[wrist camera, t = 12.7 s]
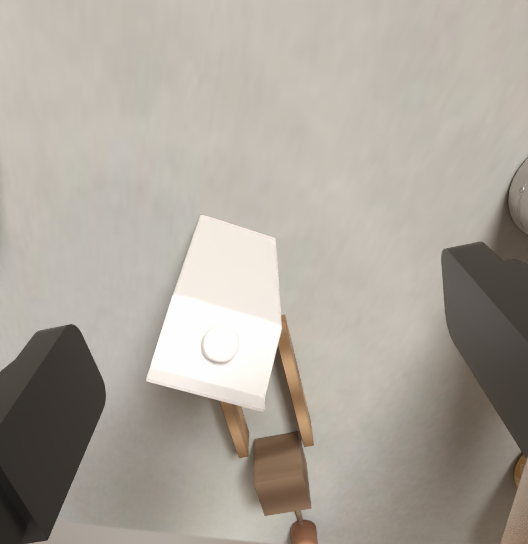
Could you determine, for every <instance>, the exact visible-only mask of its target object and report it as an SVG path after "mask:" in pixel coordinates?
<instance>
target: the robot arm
mask: <svg viewBox="0 0 528 544" xmlns="http://www.w3.org/2000/svg"><path fill="white" fill-rule="evenodd" d="M508 204H509V212H510V214H511V217H512V219H513V221H514V222H515V224H516V225H517V226H518V228H519V229H521V230H522V231H523V232H525V233H526V234H527V235H528V158H527V159H526V160H525V162H524V163H523V164H522V165H521V167H520V168H519V169H518V171H517V173H516V175H515V177H514V178H513V181H512V184H511V187H510V190H509V198H508ZM441 263H442V276H443V290H444V303H445V315H446V321H447V326H448V329H449V333H450V335H451V338H452V340H453V342H454V344H455V346H456V347H457V349H458V350H459V352H460V354H461V355H462V357H463V358H464V360H465V362H466V363H467V365H468V366H469V368H470V370H471V371H472V373H473V374H474V376H475V378H476V379H477V381H478V382H479V384H480V386H481V387H482V389H483V390H484V392H485V394H486V395H487V397H488V398H489V400H490V402H491V403H492V405H493V406H494V408H495V410H496V411H497V413H498V414H499V416H500V418H501V419H502V421H503V422H504V424H505V426H506V427H507V429H508V430H509V432H510V434H511V435H512V437H513V438H514V440H515V442H516V443H517V445H518V446H519V448H520V450H521V451H522V453H523V454H524V456H525V458H526V459H527V461H526V464H525V467H524V471H523V474H522V477H521V480H520V483H519V486H518V489H517V493H516V496H515V499H514V502H513V505H512V508H511V511H510V515H509V518H508V521H507V524H506V527H505V530H504V533H503V537H502V540H501V543H500V544H528V264H526V263H523V262H520V261H518V260H515V259H512V260H507V261H503V260H502V259H501V258H499V257H498V256H497V255H496V254H495V253H494V252H493V251H492V250H491V249H490V248H489V247H488V246H487V245H486V244H484V243H483V242H476V243H471V244H466V245H461V246H456V247H451V248H447V249H444V250H443V251H442V256H441ZM105 400H106V392H105V385H104V381H103V379H102V376H101V374H100V372H99V370H98V368H97V366H96V363H95V361H94V359H93V357H92V355H91V353H90V350H89V348H88V346H87V344H86V342H85V340H84V338H83V335H82V333H81V332H80V330H79V329H78V328H77V327H76V326H75V325H72V324H70V325H65V326H60V327H55V328H50V329H45V330H41V331H38V332H36V333H35V334H34V336H33V337H32V338H31V339H30V341H29V342H28V343H27V345H26V346H25V347H24V349H23V350H22V351H21V353H20V354H19V355H18V357H17V358H16V359H15V360H14V361H13V362H12V363H10V364H9V365H8V366H7V367H6V368H4V369H3V370H2V371H1V372H0V544H27V543H34V542H40V541H46V540H48V538H49V536H50V533H51V531H52V529H53V526H54V524H55V522H56V519H57V517H58V515H59V512H60V510H61V508H62V505H63V503H64V500H65V498H66V496H67V493H68V491H69V489H70V486H71V484H72V482H73V479H74V477H75V475H76V472H77V470H78V467H79V465H80V463H81V460H82V458H83V456H84V453H85V451H86V449H87V446H88V444H89V442H90V439H91V437H92V434H93V432H94V430H95V427H96V425H97V423H98V420H99V418H100V416H101V413H102V411H103V408H104V405H105Z"/></svg>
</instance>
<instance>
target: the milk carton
mask: <svg viewBox="0 0 528 544" xmlns="http://www.w3.org/2000/svg"><path fill="white" fill-rule="evenodd" d="M281 330H282V324H281V307H280V293H279V278H278V264H277V249H276V239H275V238H273V237H271V236H268V235H265V234H261V233H258V232H255V231H252V230H249V229H246V228H243V227H240V226H237V225H233V224H230V223H227V222H224V221H221V220H218V219H215V218H212V217H208V216H205V215H200V217H199V220H198V223H197V226H196V229H195V232H194V235H193V237H192V240H191V243H190V246H189V249H188V252H187V255H186V258H185V261H184V264H183V267H182V269H181V272H180V275H179V278H178V281H177V284H176V287H175V290H174V293H173V296H172V299H171V302H170V305H169V308H168V312H167V315H166V318H165V321H164V324H163V327H162V331H161V334H160V337H159V340H158V343H157V347H156V350H155V353H154V356H153V359H152V362H151V366H150V369H149V372H148V375H147V378H146V381H147V382H151V383H155V384H159V385H162V386H166V387H170V388H174V389H177V390H181V391H185V392H189V393H193V394H196V395H200V396H204V397H208V398H211V399H215V400H219V401H223V402H227V403H230V404H234V405H238V406H242V407H246V408H249V409H253V410H257V411H261V412H264V410H265V395H266V391H267V387H268V383H269V379H270V375H271V371H272V367H273V363H274V358H275V354H276V350H277V346H278V342H279V338H280V334H281Z"/></svg>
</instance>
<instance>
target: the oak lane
mask: <svg viewBox="0 0 528 544" xmlns="http://www.w3.org/2000/svg"><path fill="white" fill-rule="evenodd" d="M281 324H282V330H281V334H280V338H279V342H278V347H279V351H280V355H281V359H282V362H283V366H284V370H285V374H286V378H287V382H288V386H289V390H290V393H291V397H292V401H293V405H294V409H295V413H296V417H297V421H298V425H299V428H300V432H301V436H302V440H303V444H304V447H307V446H313V445H314V444H313V436H312V428H311V421H310V416H309V412H308V408H307V404H306V400H305V396H304V392H303V388H302V383H301V379H300V375H299V371H298V367H297V363H296V359H295V355H294V350H293V346H292V342H291V338H290V334H289V330H288V326H287V322H286V317H285V315H281ZM220 404H221V407H222V410H223V413H224V416H225V419H226V422H227V424H228V427H229V430H230V433H231V436H232V439H233V442H234V445H235V448H236V451H237V454H238V457H239V458H242V457H248V447H249V431H248V428H247V424H246V421H245V418H244V415H243V412H242V409H241V406H238V405H234V404H230V403H227V402H223V401H220Z"/></svg>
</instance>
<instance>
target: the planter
mask: <svg viewBox="0 0 528 544" xmlns="http://www.w3.org/2000/svg"><path fill="white" fill-rule="evenodd" d="M526 461H527V459H526V458H525V456H524V454H523V455H522V456H521V457H520V459H519V460H518V462H517V465H516V467H515V471H514V482H515V486H516V488H517V489H518V486H519V483H520V480H521V477H522V474H523V471H524V467H525V464H526Z"/></svg>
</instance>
